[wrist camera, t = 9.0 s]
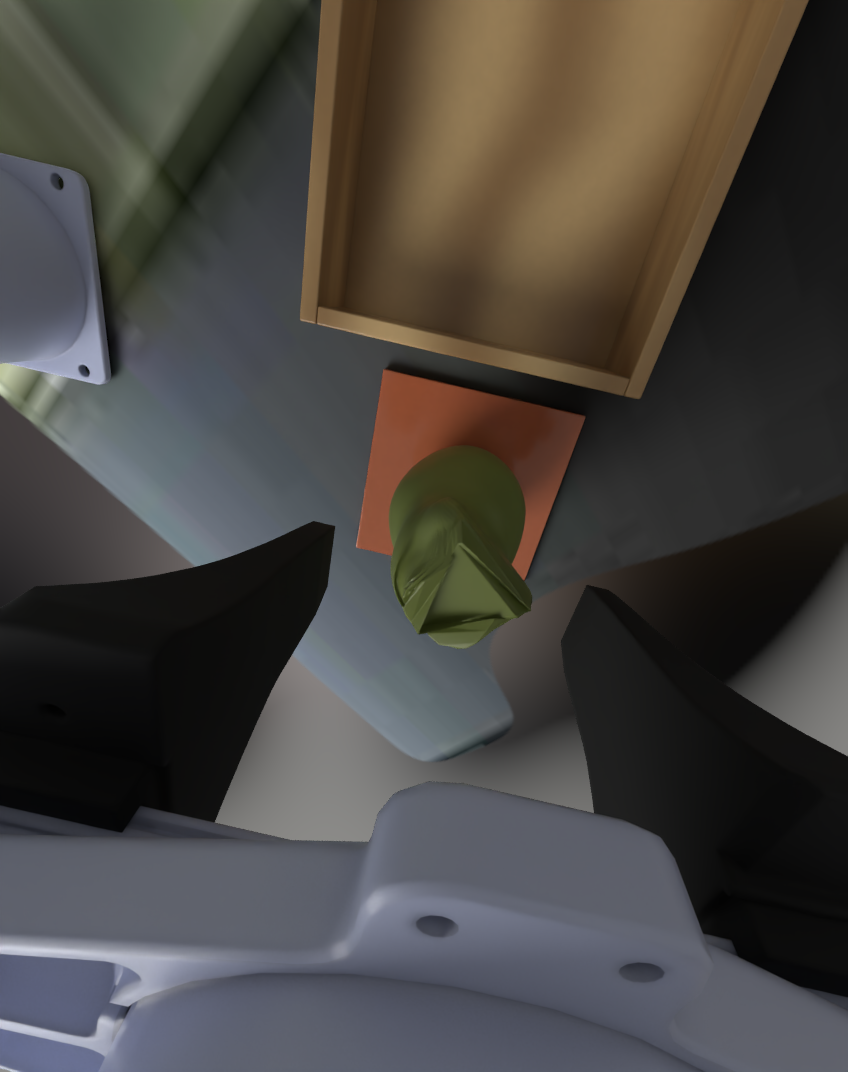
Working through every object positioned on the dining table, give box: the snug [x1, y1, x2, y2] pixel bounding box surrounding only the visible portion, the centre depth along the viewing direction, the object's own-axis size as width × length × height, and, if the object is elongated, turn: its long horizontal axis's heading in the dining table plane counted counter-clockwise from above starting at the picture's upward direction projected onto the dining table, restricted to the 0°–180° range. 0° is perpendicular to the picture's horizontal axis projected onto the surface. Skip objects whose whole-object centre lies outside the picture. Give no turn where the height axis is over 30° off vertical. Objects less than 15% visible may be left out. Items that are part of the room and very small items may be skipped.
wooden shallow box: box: [300, 0, 809, 399], centre depth 14 cm, size 12×14×4 cm
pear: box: [389, 445, 532, 649], centre depth 17 cm, size 6×5×10 cm
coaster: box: [356, 369, 586, 581], centre depth 21 cm, size 9×9×1 cm
